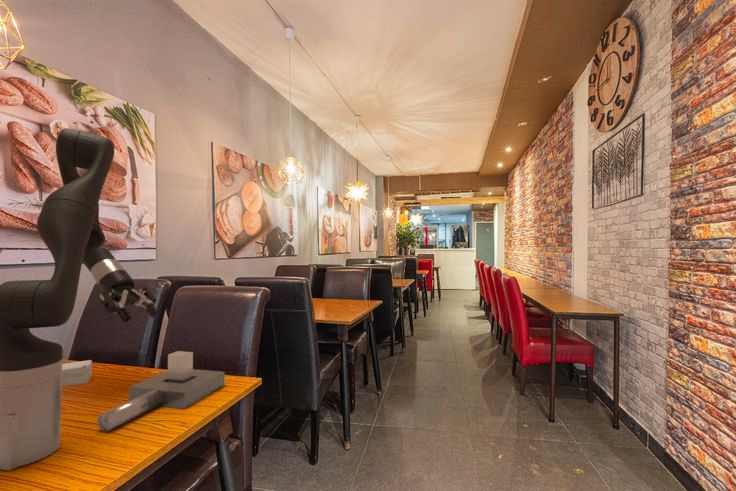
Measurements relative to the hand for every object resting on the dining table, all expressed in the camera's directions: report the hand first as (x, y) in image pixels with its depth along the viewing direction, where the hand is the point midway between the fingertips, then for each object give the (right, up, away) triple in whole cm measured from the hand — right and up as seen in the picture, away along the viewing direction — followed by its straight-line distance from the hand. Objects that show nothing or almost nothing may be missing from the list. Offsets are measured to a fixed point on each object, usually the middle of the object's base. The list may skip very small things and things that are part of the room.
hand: (143, 318), depth 97 cm
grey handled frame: (+11, -20, -10) cm, 25 cm away
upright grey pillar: (+12, -20, -3) cm, 24 cm away
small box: (-25, -21, +6) cm, 33 cm away
